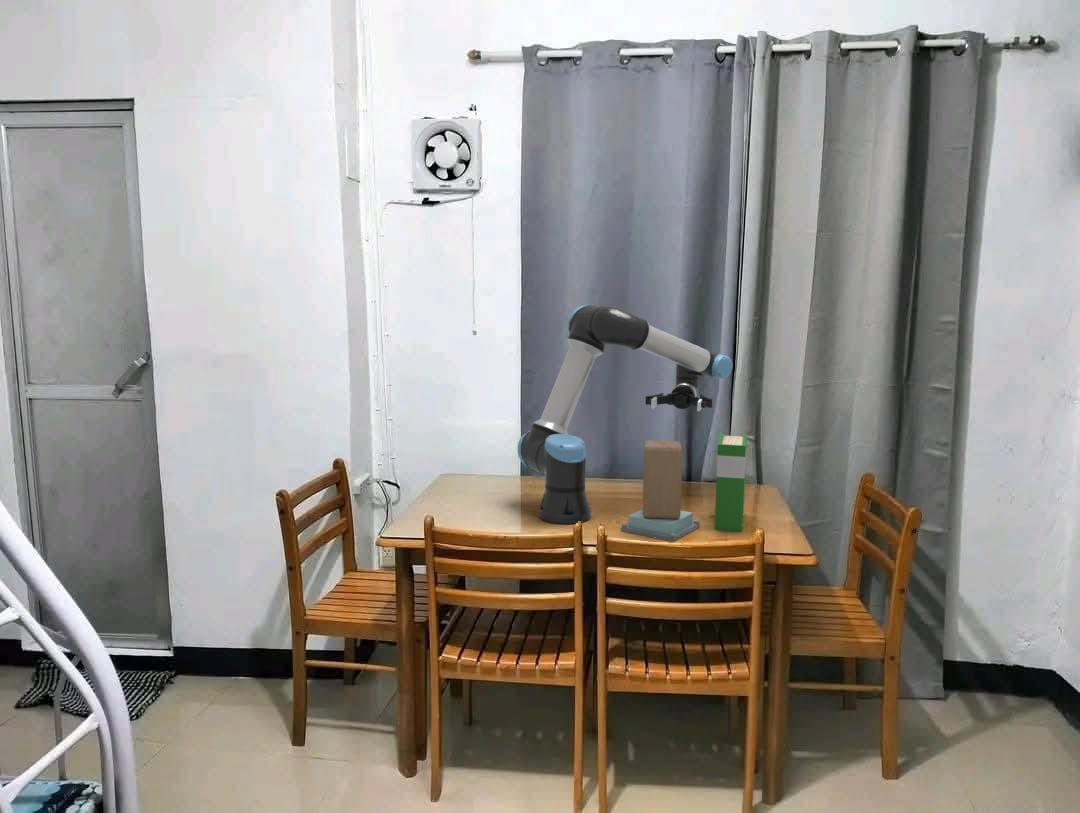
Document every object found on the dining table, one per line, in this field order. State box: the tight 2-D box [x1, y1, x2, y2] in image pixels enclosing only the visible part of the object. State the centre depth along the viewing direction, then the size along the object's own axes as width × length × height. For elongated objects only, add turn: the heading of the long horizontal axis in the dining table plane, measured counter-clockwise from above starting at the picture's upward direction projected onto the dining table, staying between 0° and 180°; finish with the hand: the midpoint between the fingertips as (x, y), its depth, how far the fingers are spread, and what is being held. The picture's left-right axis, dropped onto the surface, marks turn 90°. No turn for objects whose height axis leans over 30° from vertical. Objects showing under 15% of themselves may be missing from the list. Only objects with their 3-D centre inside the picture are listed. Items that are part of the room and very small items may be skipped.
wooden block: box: [642, 439, 683, 519], centre depth 219 cm, size 10×10×20 cm
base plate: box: [620, 508, 701, 542], centre depth 221 cm, size 16×16×4 cm
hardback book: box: [714, 432, 748, 533], centre depth 226 cm, size 18×7×24 cm, turn 165°
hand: (675, 405), depth 236 cm, fingers open, 13 cm apart
